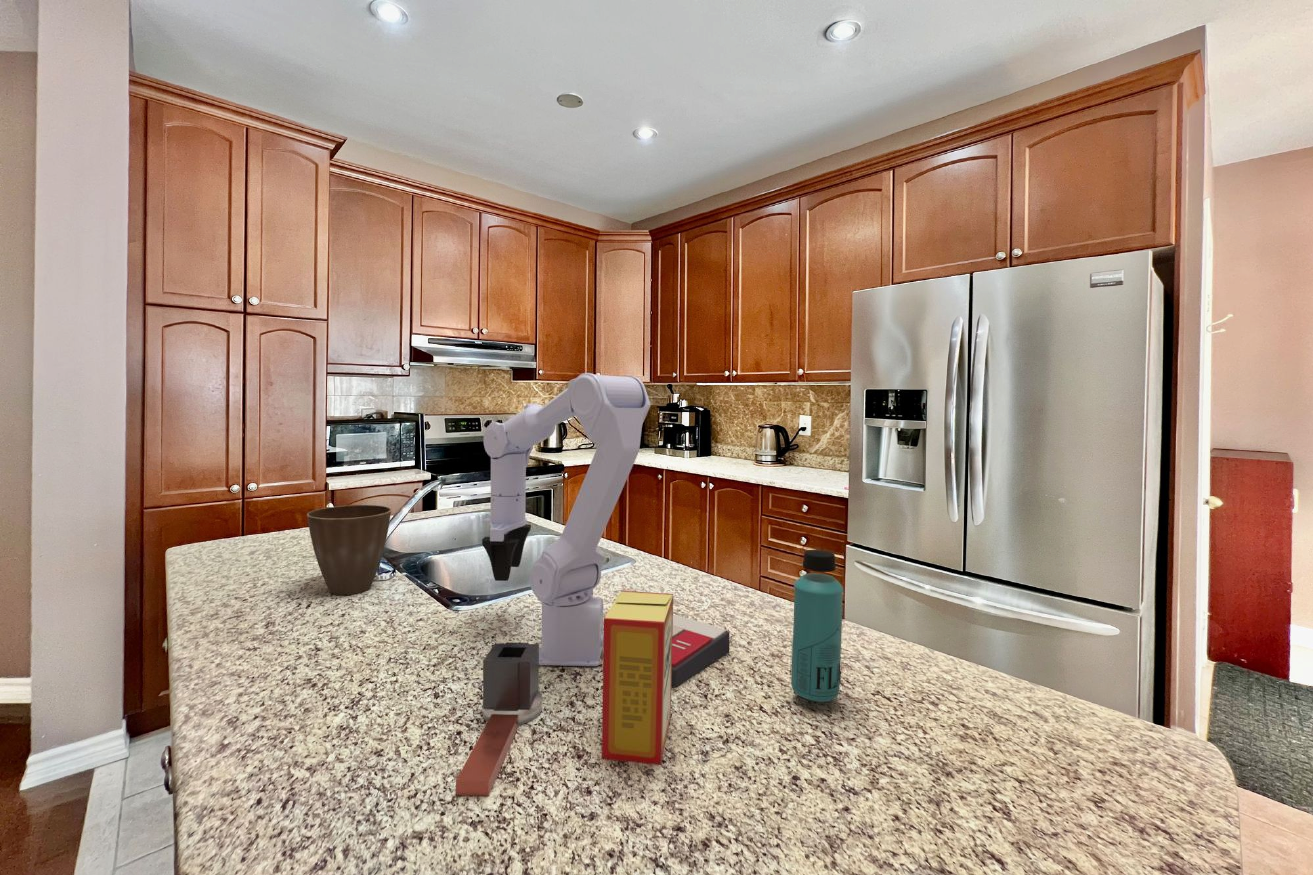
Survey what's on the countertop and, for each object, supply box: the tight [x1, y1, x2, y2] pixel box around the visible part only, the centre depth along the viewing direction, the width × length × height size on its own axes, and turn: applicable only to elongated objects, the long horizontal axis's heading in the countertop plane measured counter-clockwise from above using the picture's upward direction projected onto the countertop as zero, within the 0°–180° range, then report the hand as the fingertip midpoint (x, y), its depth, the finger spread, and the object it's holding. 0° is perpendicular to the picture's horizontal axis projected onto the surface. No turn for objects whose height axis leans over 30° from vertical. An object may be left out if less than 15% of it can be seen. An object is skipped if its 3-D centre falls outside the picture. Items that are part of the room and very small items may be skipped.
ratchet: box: [455, 689, 543, 797], centre depth 66 cm, size 7×19×4 cm, turn 0°
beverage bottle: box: [789, 549, 844, 702], centre depth 75 cm, size 6×7×20 cm
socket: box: [482, 641, 540, 711], centre depth 72 cm, size 6×6×6 cm
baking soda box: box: [601, 590, 674, 766], centre depth 66 cm, size 10×6×16 cm
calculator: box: [671, 614, 730, 689], centre depth 87 cm, size 11×4×15 cm
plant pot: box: [306, 504, 392, 596], centre depth 115 cm, size 15×15×16 cm
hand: (507, 573), depth 97 cm, fingers open, 7 cm apart
